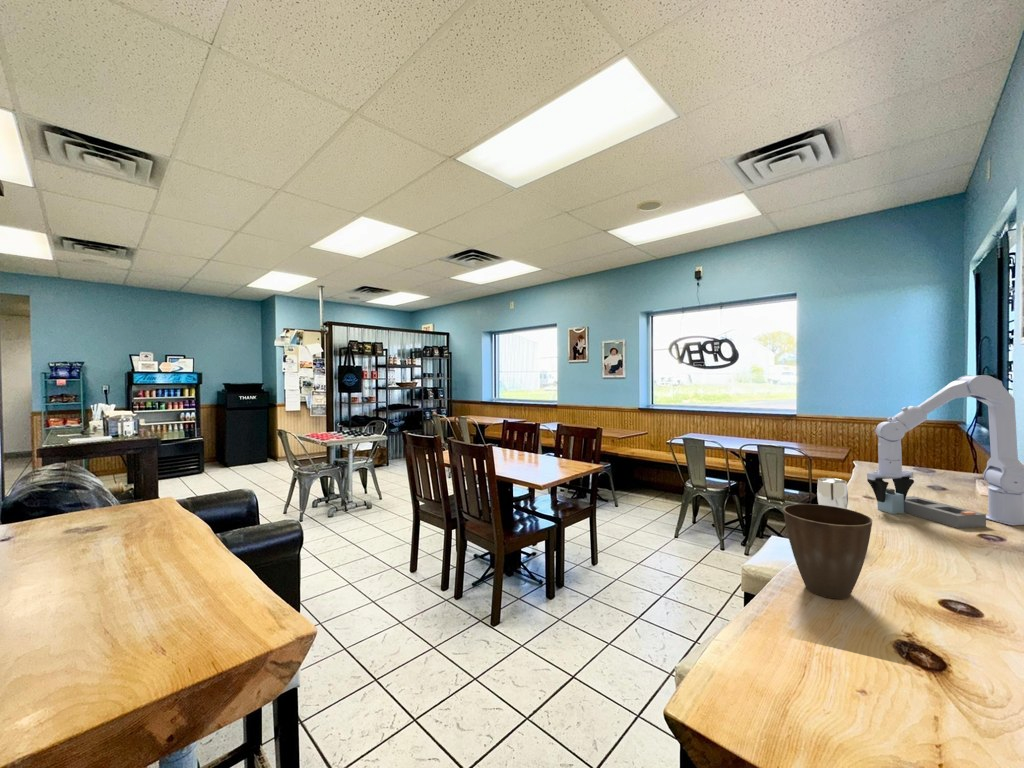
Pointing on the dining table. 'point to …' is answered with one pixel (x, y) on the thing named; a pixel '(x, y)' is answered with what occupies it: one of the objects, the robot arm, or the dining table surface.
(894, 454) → the robot arm
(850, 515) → the plant pot
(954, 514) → the grey slotted tray
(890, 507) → the plug
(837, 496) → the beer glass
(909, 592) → the dining table surface
